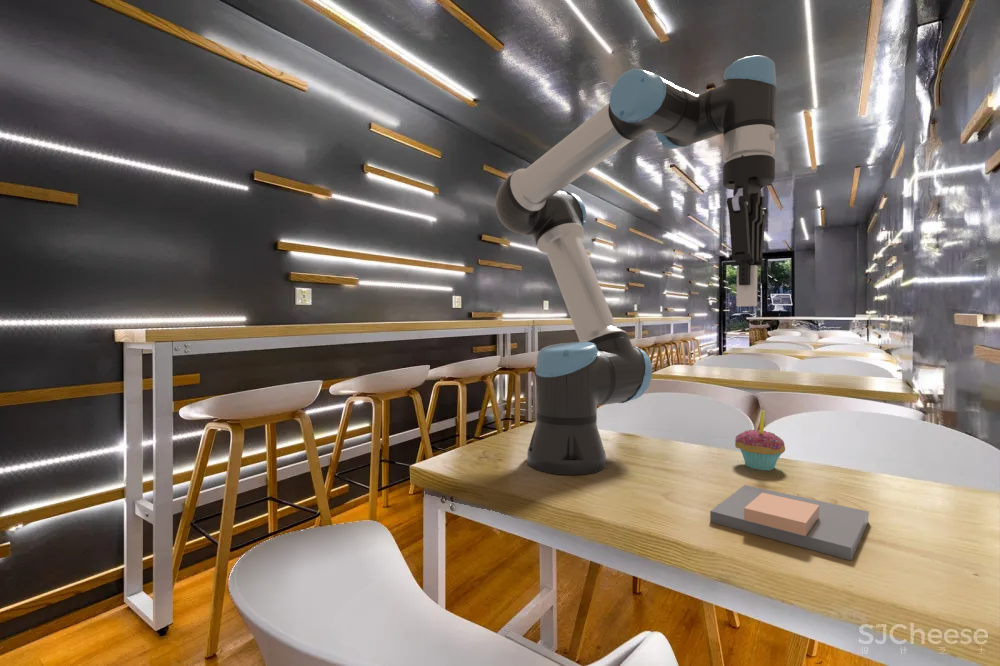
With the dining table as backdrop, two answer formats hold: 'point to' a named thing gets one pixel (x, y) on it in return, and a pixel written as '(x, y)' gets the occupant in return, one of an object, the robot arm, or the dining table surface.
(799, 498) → the board
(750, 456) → the cupcake
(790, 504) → the tile
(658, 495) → the dining table surface
